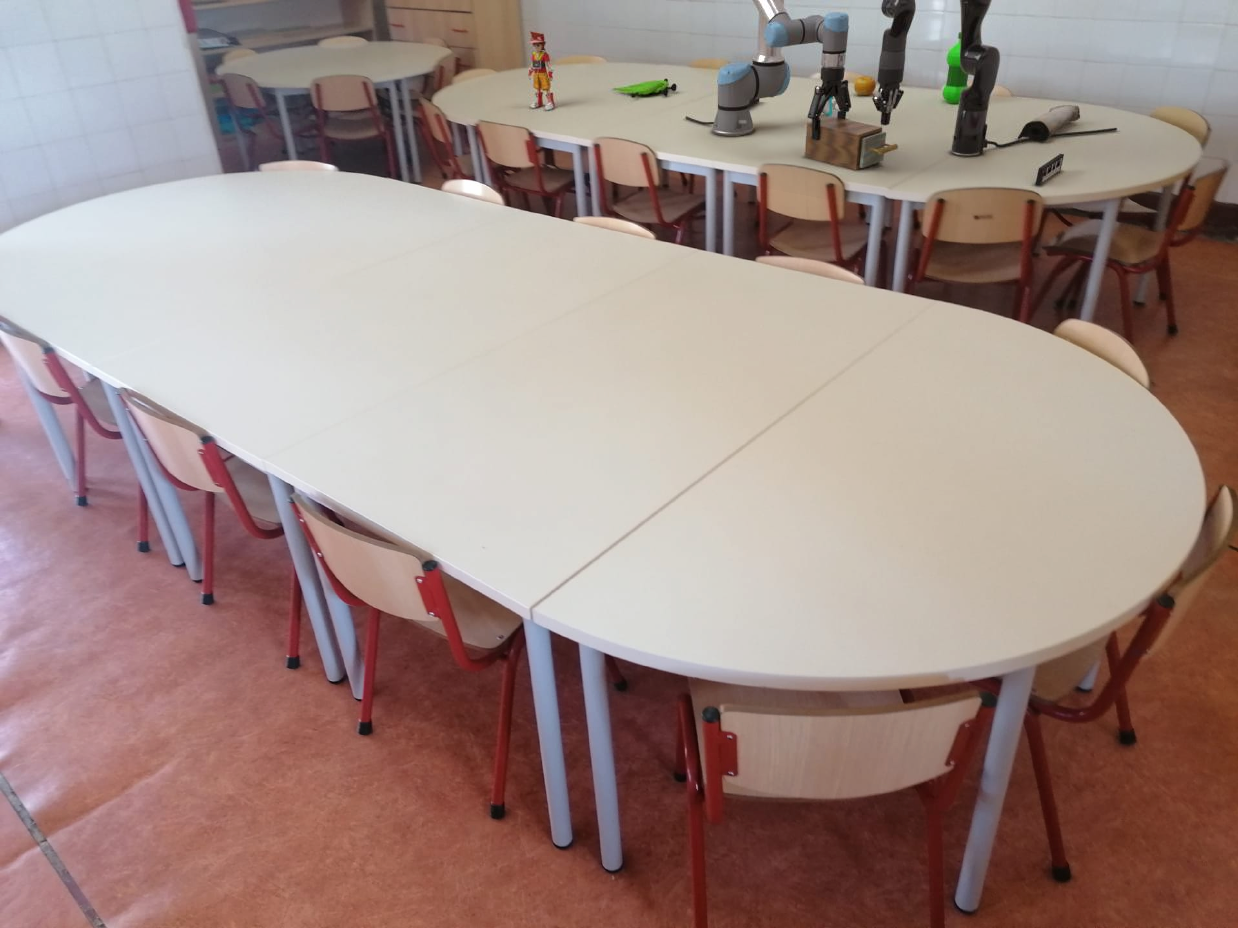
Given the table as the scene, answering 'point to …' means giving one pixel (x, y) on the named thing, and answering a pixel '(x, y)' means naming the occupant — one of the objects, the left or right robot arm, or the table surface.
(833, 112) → the anatomical model
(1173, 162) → the table surface
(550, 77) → the toy
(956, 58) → the plastic bottle
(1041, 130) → the rolled mat
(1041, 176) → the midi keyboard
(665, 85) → the toy
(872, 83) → the fruit
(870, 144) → the drawer
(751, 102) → the disk drive
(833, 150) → the cabinet
